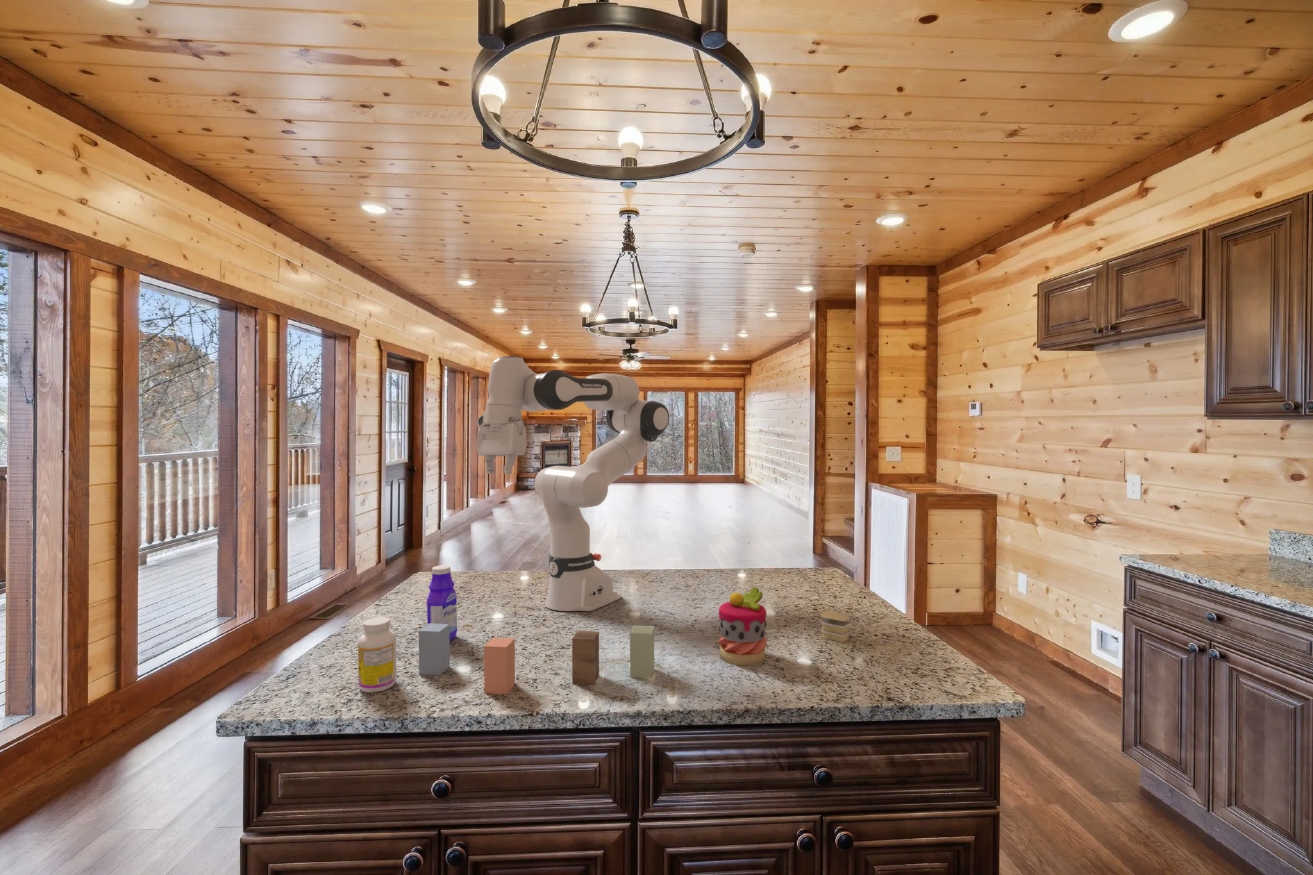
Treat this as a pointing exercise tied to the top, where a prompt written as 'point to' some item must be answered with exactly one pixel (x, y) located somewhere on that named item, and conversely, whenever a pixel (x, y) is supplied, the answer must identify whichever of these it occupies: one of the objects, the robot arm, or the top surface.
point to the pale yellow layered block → (835, 626)
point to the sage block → (642, 651)
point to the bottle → (442, 599)
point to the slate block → (434, 649)
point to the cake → (743, 629)
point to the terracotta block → (499, 665)
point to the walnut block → (585, 657)
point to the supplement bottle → (377, 656)
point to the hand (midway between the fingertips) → (498, 473)
